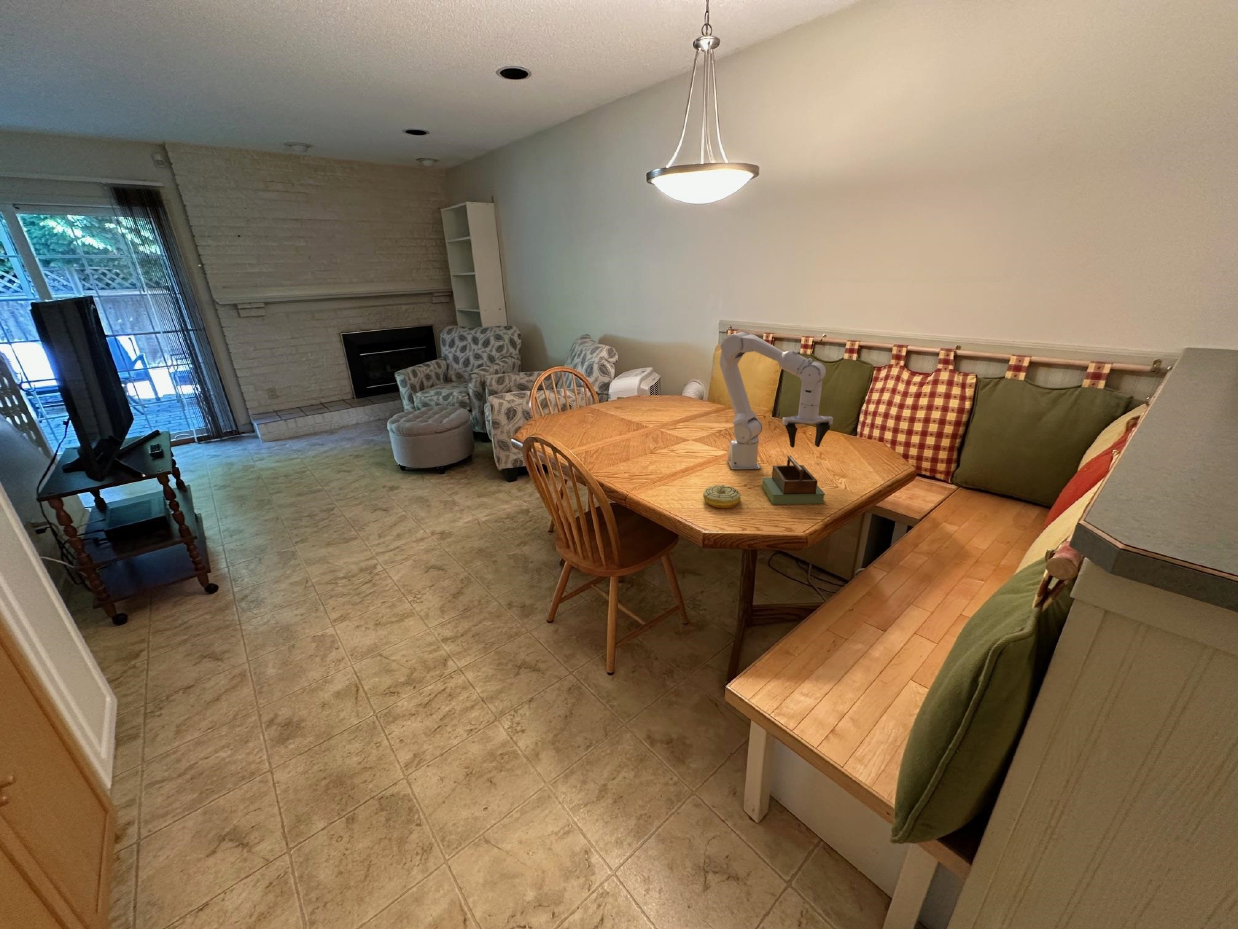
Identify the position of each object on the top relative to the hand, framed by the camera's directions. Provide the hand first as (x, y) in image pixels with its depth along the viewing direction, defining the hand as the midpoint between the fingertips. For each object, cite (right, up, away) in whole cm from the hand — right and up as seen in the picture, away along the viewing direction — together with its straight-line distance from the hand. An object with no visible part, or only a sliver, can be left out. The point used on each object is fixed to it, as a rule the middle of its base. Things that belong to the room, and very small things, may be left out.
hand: (804, 446), depth 148 cm
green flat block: (-7, -15, -8) cm, 18 cm away
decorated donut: (-28, -17, -11) cm, 34 cm away
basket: (-7, -12, -9) cm, 16 cm away
